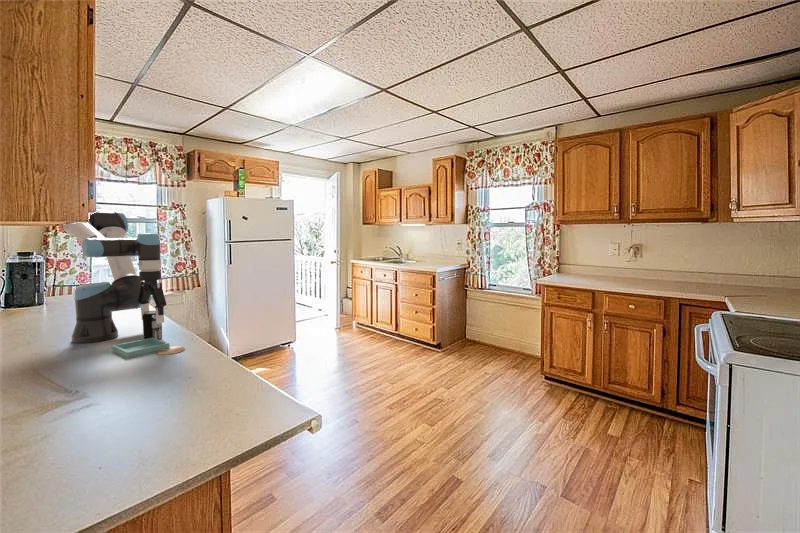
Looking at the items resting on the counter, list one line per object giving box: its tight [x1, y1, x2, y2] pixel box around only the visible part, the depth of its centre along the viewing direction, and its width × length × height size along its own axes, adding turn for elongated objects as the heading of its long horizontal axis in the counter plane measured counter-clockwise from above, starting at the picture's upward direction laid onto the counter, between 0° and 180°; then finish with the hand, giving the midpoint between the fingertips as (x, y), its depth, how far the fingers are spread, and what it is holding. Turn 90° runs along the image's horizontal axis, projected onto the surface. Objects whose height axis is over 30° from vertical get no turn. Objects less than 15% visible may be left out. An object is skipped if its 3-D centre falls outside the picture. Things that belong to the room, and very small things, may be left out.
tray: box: [111, 338, 171, 359], centre depth 140 cm, size 14×14×2 cm
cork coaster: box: [155, 345, 185, 356], centre depth 140 cm, size 9×9×1 cm
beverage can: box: [142, 310, 163, 340], centre depth 154 cm, size 7×7×12 cm
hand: (152, 321), depth 154 cm, fingers open, 13 cm apart
